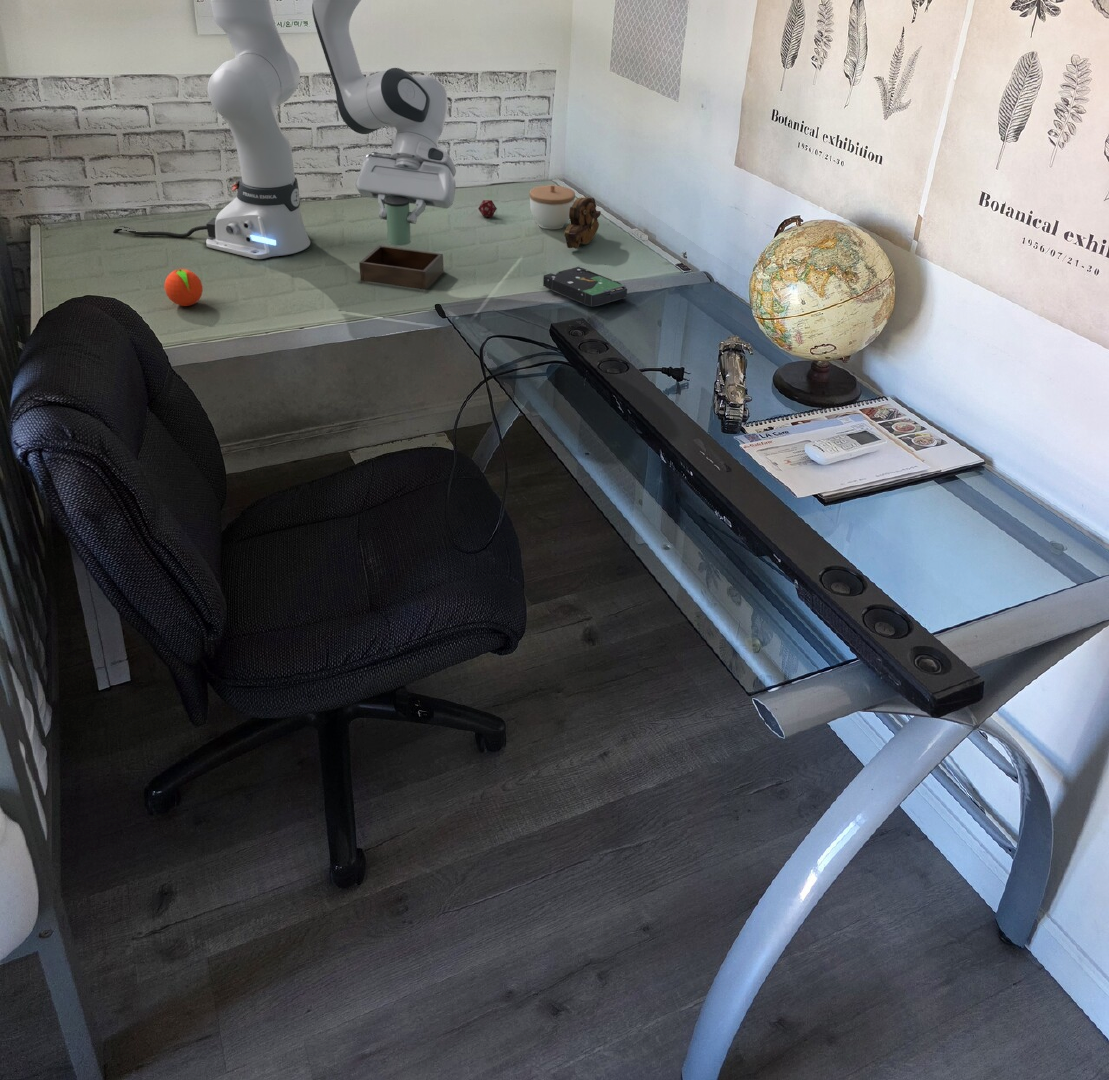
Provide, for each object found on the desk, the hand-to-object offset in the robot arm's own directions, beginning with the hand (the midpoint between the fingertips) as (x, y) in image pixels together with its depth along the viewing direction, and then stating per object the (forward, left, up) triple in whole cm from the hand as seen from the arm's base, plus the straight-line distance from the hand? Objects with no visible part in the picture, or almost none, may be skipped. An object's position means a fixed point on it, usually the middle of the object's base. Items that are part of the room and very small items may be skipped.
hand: (397, 220), depth 201 cm
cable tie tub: (0, +1, -5) cm, 5 cm away
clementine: (-34, -26, -13) cm, 45 cm away
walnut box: (0, +1, -12) cm, 12 cm away
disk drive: (+38, +5, -12) cm, 41 cm away
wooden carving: (+31, +34, -13) cm, 48 cm away
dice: (+5, +43, -13) cm, 45 cm away
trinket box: (+21, +43, -13) cm, 49 cm away
